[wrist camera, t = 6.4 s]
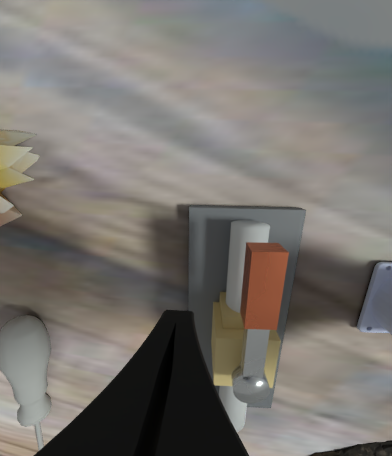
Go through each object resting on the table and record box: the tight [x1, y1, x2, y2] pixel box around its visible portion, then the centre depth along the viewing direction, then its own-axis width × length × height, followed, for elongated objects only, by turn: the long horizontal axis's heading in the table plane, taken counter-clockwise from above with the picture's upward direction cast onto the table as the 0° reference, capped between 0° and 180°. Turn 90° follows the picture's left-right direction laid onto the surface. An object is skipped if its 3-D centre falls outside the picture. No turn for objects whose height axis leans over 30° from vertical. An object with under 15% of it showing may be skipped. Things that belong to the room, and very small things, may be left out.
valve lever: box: [231, 242, 289, 404], centre depth 13 cm, size 12×3×2 cm, turn 179°
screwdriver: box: [0, 315, 52, 451], centre depth 24 cm, size 5×25×4 cm, turn 170°
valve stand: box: [188, 205, 306, 432], centre depth 18 cm, size 10×24×6 cm, turn 179°
